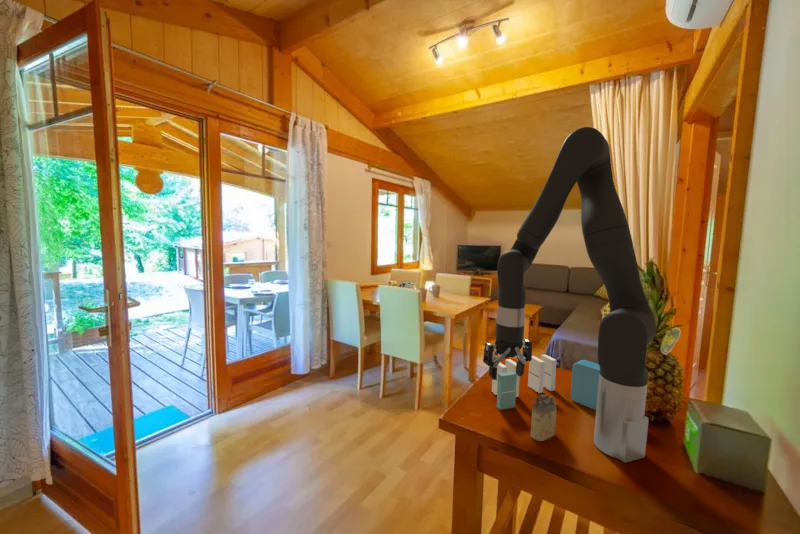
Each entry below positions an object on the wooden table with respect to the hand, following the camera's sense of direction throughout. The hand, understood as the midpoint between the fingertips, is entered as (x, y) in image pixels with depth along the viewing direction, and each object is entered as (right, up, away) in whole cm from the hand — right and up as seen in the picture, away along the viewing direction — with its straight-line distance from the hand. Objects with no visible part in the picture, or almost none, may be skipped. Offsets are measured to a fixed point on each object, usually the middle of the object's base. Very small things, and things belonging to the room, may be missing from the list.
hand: (506, 376), depth 96 cm
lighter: (+5, -11, -12) cm, 17 cm away
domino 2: (+4, -8, +9) cm, 12 cm away
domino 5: (+17, -8, +13) cm, 23 cm away
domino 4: (+13, -8, +12) cm, 19 cm away
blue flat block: (+26, -9, +2) cm, 28 cm away
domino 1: (0, -8, +7) cm, 11 cm away
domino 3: (0, -9, +1) cm, 9 cm away
